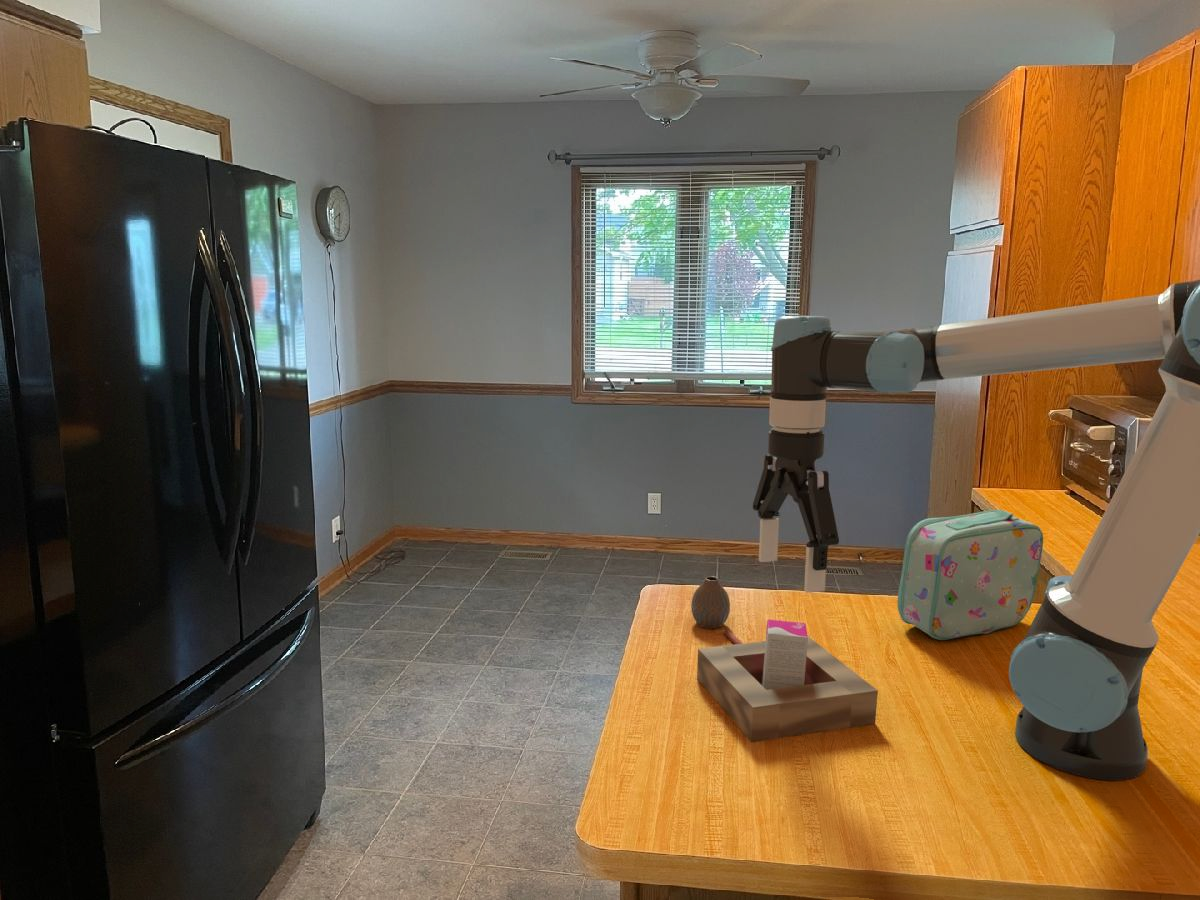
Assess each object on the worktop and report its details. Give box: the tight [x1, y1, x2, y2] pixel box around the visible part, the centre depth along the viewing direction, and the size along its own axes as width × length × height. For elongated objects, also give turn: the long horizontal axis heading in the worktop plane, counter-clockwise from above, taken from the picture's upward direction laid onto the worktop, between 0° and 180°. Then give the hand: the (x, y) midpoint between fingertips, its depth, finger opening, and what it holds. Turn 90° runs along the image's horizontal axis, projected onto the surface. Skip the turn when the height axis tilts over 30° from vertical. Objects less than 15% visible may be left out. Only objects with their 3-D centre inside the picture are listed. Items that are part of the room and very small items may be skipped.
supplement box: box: [761, 619, 808, 690], centre depth 121 cm, size 6×6×12 cm
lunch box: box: [897, 509, 1044, 641], centre depth 149 cm, size 27×10×21 cm, turn 115°
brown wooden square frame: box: [696, 635, 879, 743], centre depth 122 cm, size 19×19×5 cm
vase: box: [690, 575, 731, 630], centre depth 149 cm, size 7×7×9 cm
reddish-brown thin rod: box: [723, 628, 743, 644], centre depth 140 cm, size 12×1×1 cm, turn 16°
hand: (790, 575), depth 118 cm, fingers open, 13 cm apart
